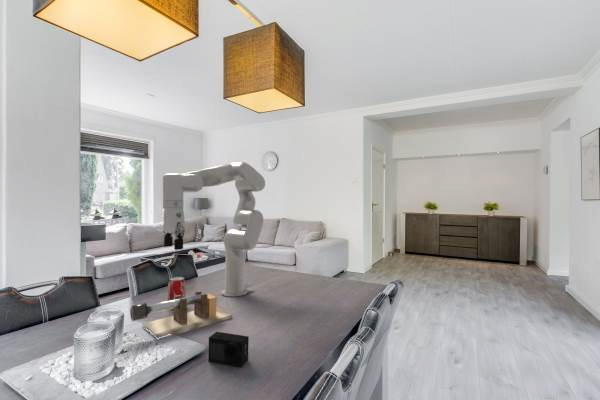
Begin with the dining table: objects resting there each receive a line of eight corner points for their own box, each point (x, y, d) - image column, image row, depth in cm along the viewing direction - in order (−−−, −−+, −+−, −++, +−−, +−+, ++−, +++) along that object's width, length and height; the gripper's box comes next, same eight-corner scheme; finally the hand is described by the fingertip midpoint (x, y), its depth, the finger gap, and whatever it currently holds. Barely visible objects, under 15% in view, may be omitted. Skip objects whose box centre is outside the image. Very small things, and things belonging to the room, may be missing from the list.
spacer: (207, 310, 121) (207, 293, 121) (216, 315, 116) (216, 297, 116) (200, 312, 118) (200, 294, 119) (209, 317, 114) (209, 298, 114)
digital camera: (205, 364, 83) (205, 338, 83) (215, 354, 88) (216, 331, 88) (239, 370, 80) (239, 344, 80) (248, 360, 85) (248, 335, 86)
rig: (213, 308, 126) (214, 284, 127) (232, 317, 117) (232, 292, 117) (142, 326, 107) (143, 298, 107) (157, 339, 97) (157, 308, 97)
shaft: (198, 302, 117) (198, 290, 117) (204, 305, 113) (204, 293, 113) (130, 318, 100) (130, 304, 100) (134, 322, 96) (135, 307, 96)
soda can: (178, 310, 124) (179, 280, 124) (163, 308, 125) (164, 279, 126) (188, 304, 131) (189, 277, 131) (173, 303, 132) (174, 275, 133)
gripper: (192, 205, 116) (192, 249, 116) (173, 204, 128) (173, 244, 128) (173, 205, 110) (173, 251, 111) (155, 204, 122) (155, 246, 123)
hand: (173, 247), depth 119 cm, fingers open, 9 cm apart
